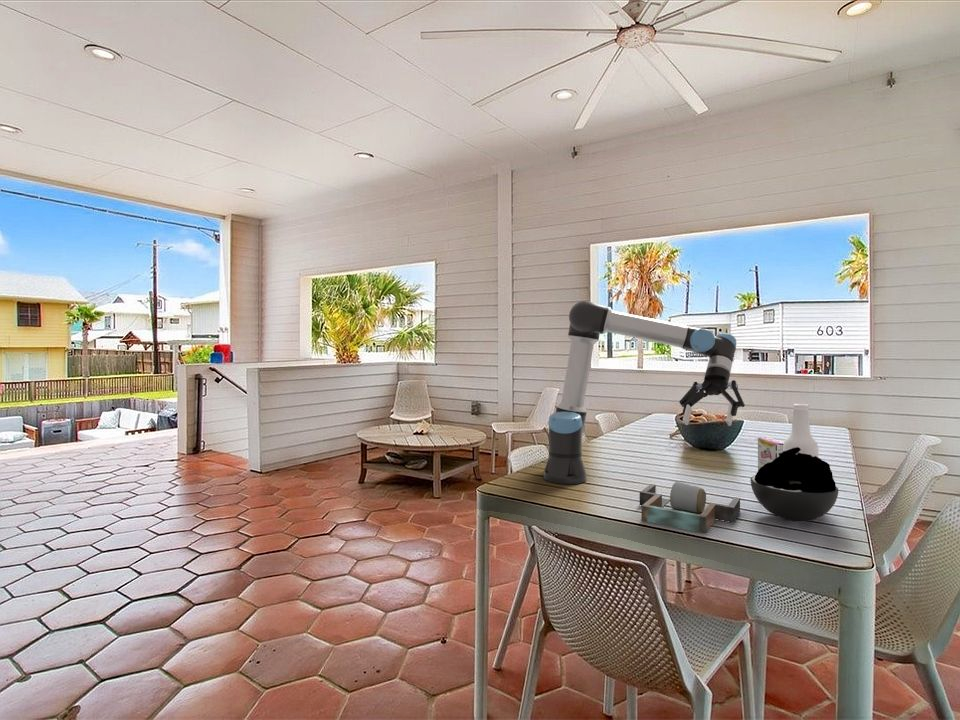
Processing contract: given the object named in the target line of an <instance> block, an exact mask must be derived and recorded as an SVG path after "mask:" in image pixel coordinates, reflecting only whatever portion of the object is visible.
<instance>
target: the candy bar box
mask: <svg viewBox="0 0 960 720" xmlns="http://www.w3.org/2000/svg"><path fill="white" fill-rule="evenodd" d="M783 445H784V441H783V440H780V439H777V438H773V437H757V471H758V470H759V469H760V468H761V467H762V466H764V464H766V463H769V462H772V461H773V460H774V459H775V458H777V457H779V456H780V455H779V453H782V452H783Z"/></svg>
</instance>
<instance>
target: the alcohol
mask: <svg viewBox="0 0 960 720" xmlns="http://www.w3.org/2000/svg"><path fill="white" fill-rule="evenodd" d="M792 406H793V407H792V410H793V411H792V421H791V422H792V424H791V431H790V434H789V435H788V436H787V437H786V438H785V439H784V441H783V442H784V445H783V451H787V450H789V449H792V448H796V447H799V448H800V449H801V450H800V451H799V452H798V453H801V454H809V455H811V456H812V457H814V456H816V457H818V458H819V449H820V448H819V445H818V442H817V441H816V440H815V438H814V437H813V436H812V433H811V426H810V417H809V416H810V414H809V411H810V408H809V407H810V405H809V404H808V403H807V404H806V403H794V404H792ZM796 454H797V453H796Z"/></svg>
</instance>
